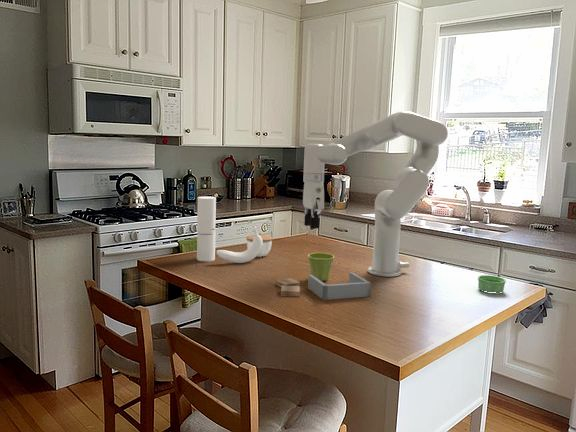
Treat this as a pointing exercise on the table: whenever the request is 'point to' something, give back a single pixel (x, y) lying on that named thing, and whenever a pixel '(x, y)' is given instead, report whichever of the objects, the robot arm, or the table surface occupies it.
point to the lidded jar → (265, 245)
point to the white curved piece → (246, 255)
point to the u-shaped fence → (340, 288)
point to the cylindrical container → (206, 228)
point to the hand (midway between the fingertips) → (311, 226)
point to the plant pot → (320, 265)
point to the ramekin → (491, 283)
